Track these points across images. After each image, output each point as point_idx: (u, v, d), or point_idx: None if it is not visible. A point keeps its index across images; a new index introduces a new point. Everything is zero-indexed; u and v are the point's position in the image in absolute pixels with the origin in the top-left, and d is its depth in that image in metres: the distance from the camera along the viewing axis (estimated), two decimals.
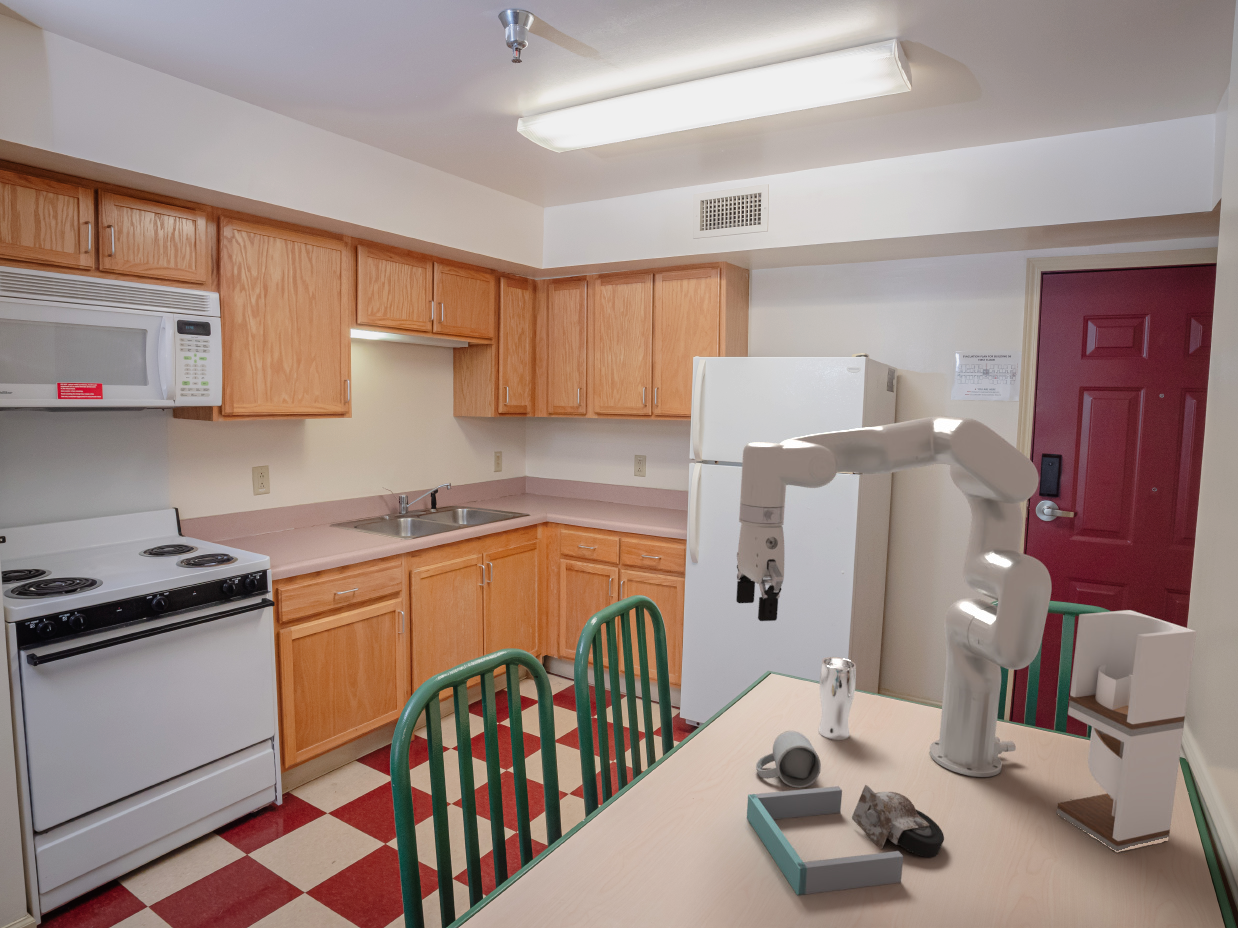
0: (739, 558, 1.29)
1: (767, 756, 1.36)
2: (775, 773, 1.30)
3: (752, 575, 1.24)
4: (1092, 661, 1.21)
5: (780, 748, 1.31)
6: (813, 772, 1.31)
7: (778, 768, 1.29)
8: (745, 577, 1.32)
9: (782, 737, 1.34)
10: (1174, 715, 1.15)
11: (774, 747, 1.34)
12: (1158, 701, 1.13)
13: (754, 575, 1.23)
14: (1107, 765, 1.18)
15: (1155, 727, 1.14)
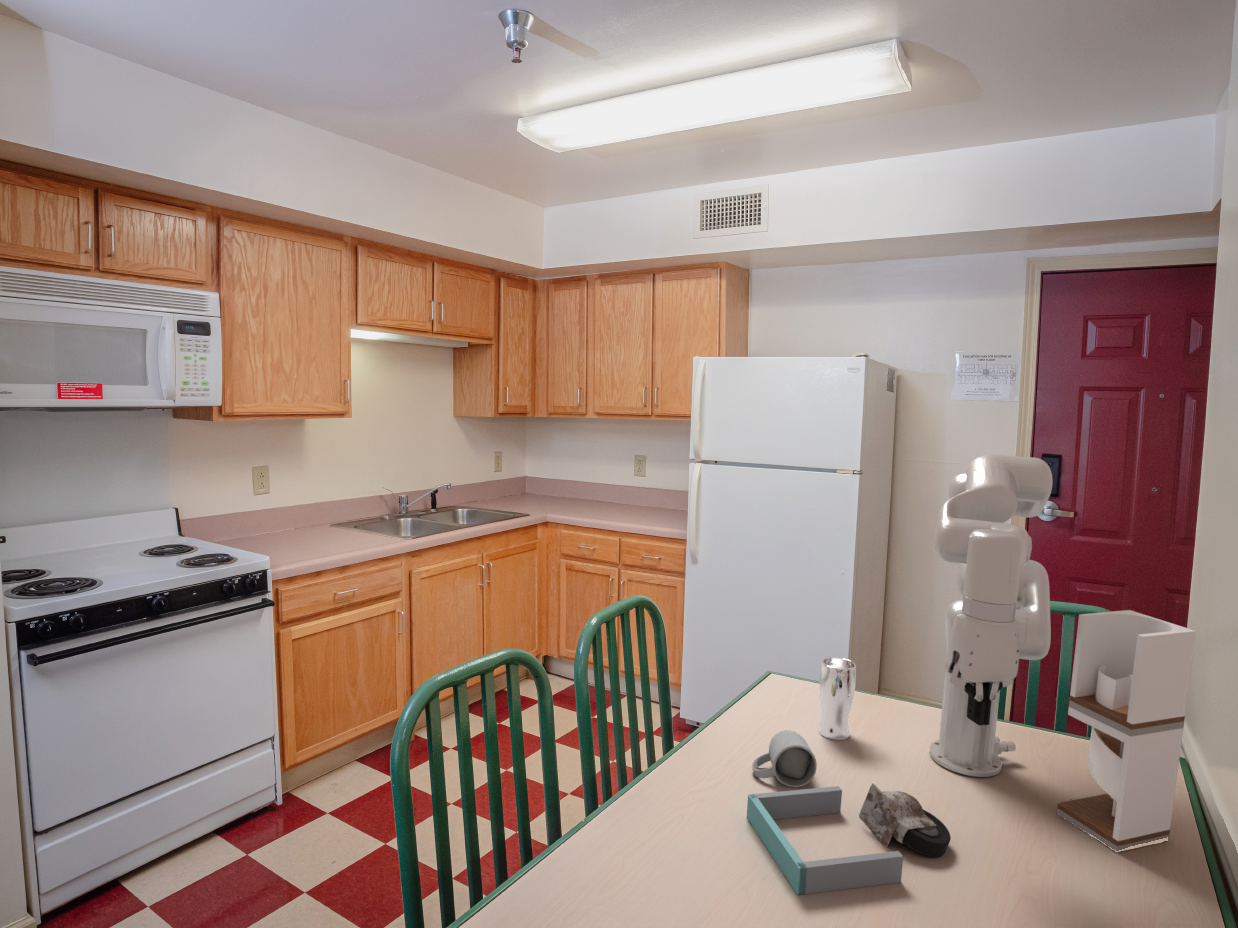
0: (974, 668, 1.12)
1: (763, 756, 1.36)
2: (771, 773, 1.30)
3: (1005, 675, 1.14)
4: (1092, 661, 1.21)
5: (776, 748, 1.31)
6: (809, 772, 1.31)
7: (774, 768, 1.29)
8: None
9: (778, 737, 1.34)
10: (1174, 715, 1.15)
11: (770, 747, 1.34)
12: (1158, 701, 1.13)
13: (1010, 673, 1.14)
14: (1107, 765, 1.18)
15: (1155, 727, 1.14)
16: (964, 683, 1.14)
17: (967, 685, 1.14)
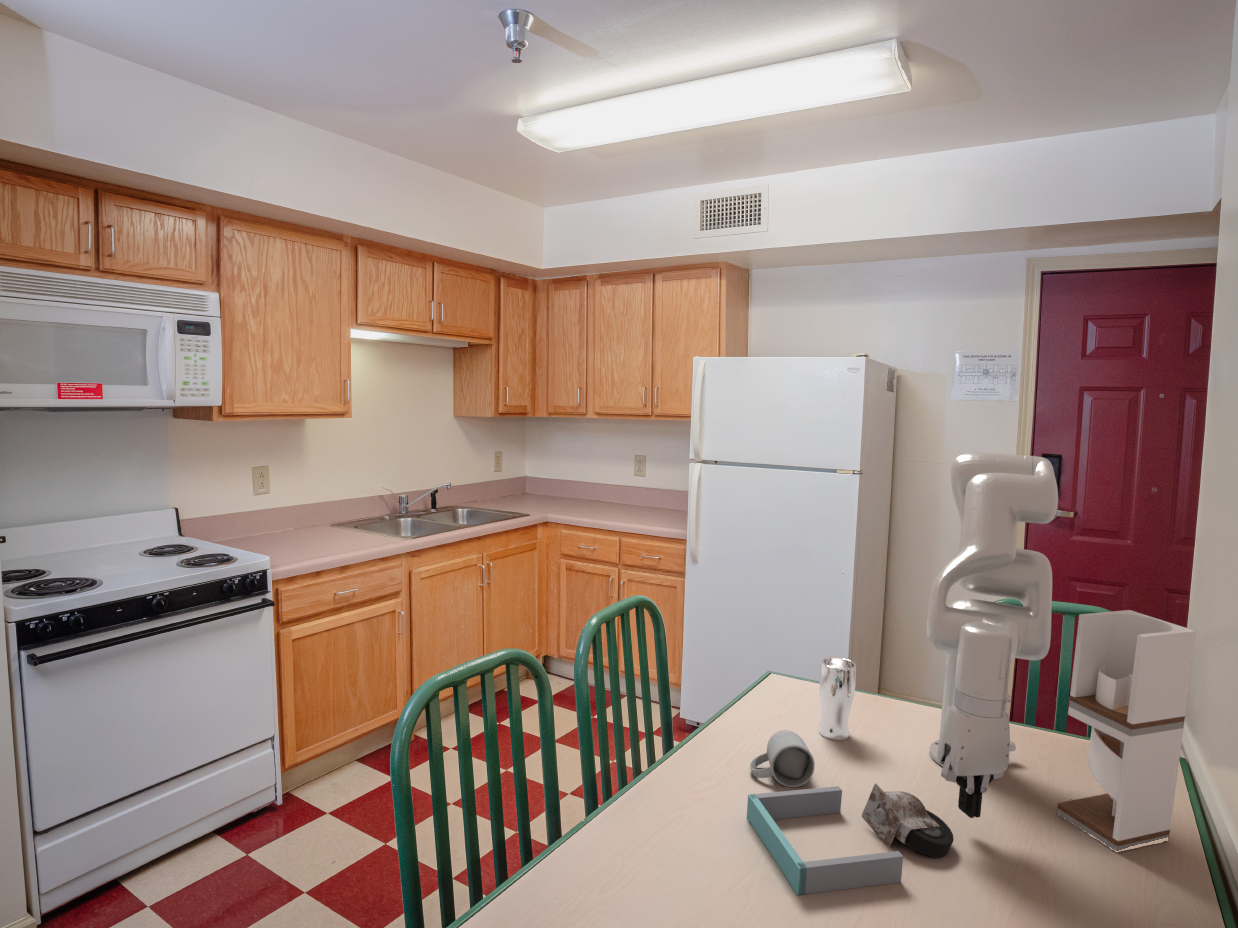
0: (965, 762, 1.14)
1: (761, 756, 1.36)
2: (769, 773, 1.30)
3: (996, 768, 1.15)
4: (1092, 661, 1.21)
5: (774, 748, 1.31)
6: (807, 772, 1.31)
7: (772, 768, 1.29)
8: None
9: (776, 737, 1.34)
10: (1174, 715, 1.15)
11: (768, 747, 1.34)
12: (1158, 701, 1.13)
13: (1001, 766, 1.15)
14: (1107, 765, 1.18)
15: (1155, 727, 1.13)
16: (955, 776, 1.15)
17: (958, 778, 1.15)
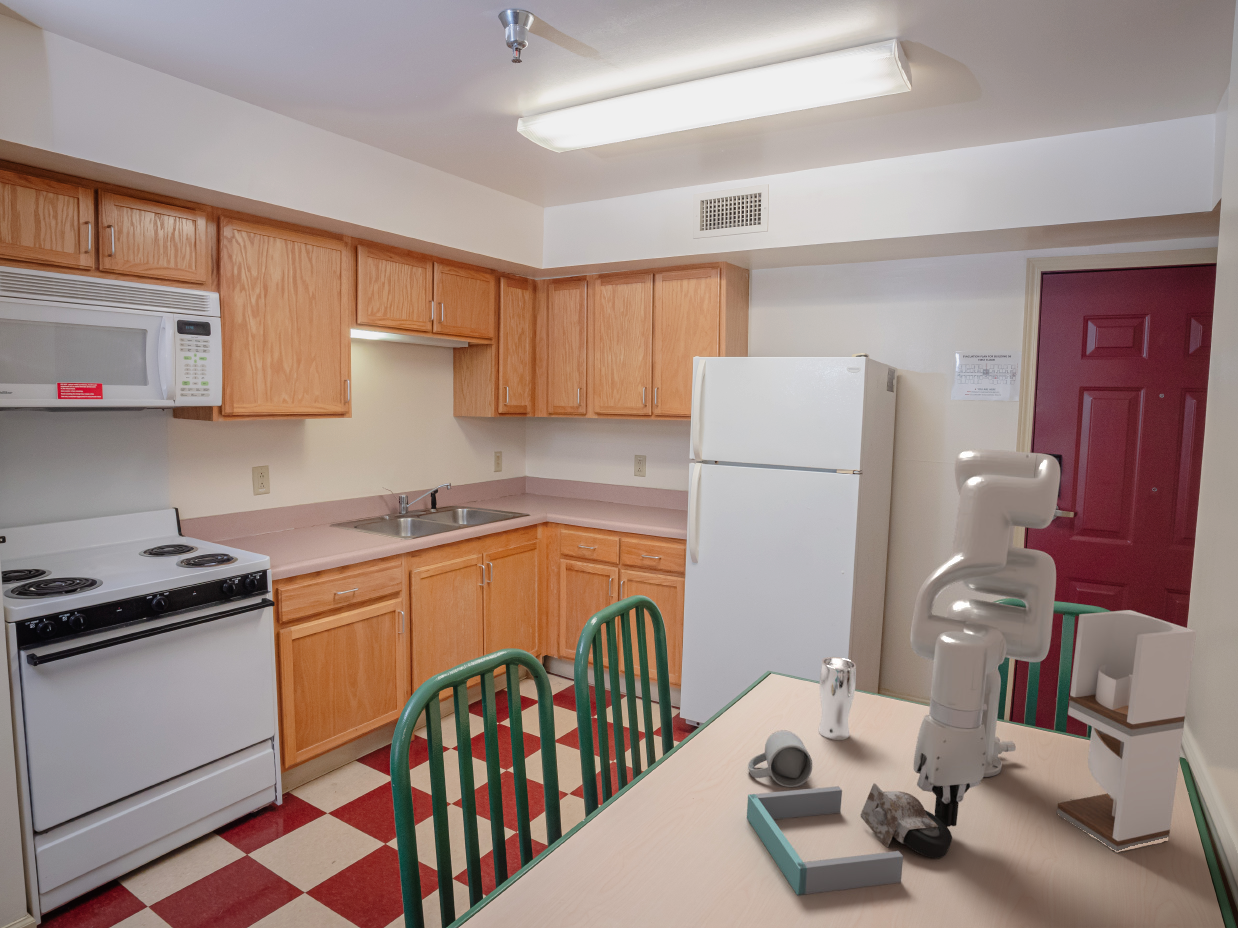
0: (941, 772, 1.13)
1: (759, 756, 1.36)
2: (767, 773, 1.30)
3: (971, 778, 1.15)
4: (1092, 661, 1.21)
5: (772, 748, 1.31)
6: (805, 771, 1.31)
7: (770, 768, 1.29)
8: None
9: (774, 737, 1.34)
10: (1174, 715, 1.15)
11: (766, 747, 1.34)
12: (1158, 701, 1.13)
13: (977, 775, 1.15)
14: (1107, 765, 1.18)
15: (1155, 727, 1.14)
16: (931, 785, 1.15)
17: (934, 787, 1.15)
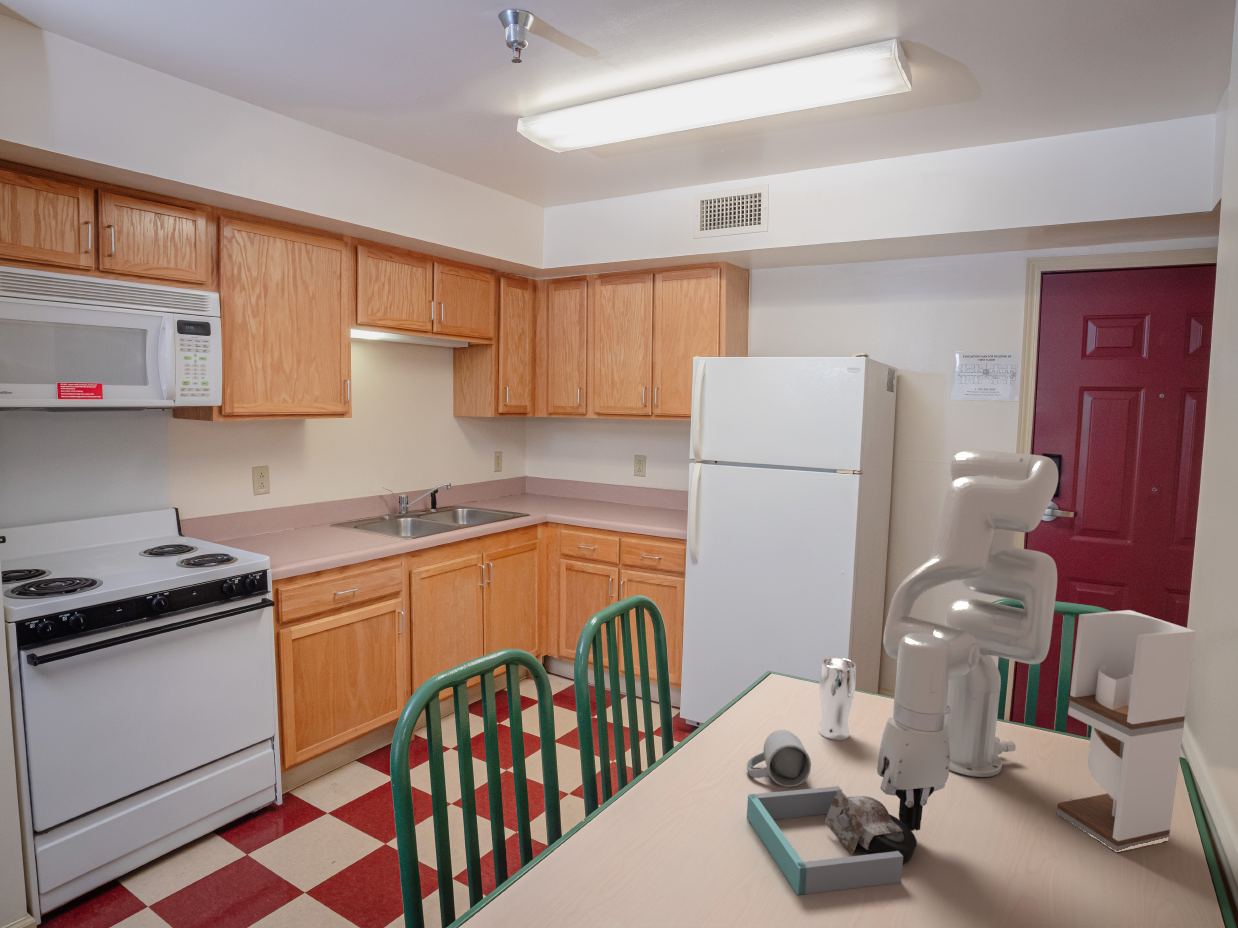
0: (904, 775, 1.12)
1: (758, 755, 1.36)
2: (765, 772, 1.30)
3: (935, 781, 1.13)
4: (1092, 661, 1.21)
5: (770, 748, 1.31)
6: (803, 771, 1.31)
7: (768, 767, 1.29)
8: None
9: (773, 737, 1.34)
10: (1174, 715, 1.15)
11: (765, 746, 1.34)
12: (1158, 701, 1.13)
13: (941, 779, 1.14)
14: (1107, 765, 1.18)
15: (1155, 727, 1.14)
16: (895, 789, 1.14)
17: (898, 791, 1.14)
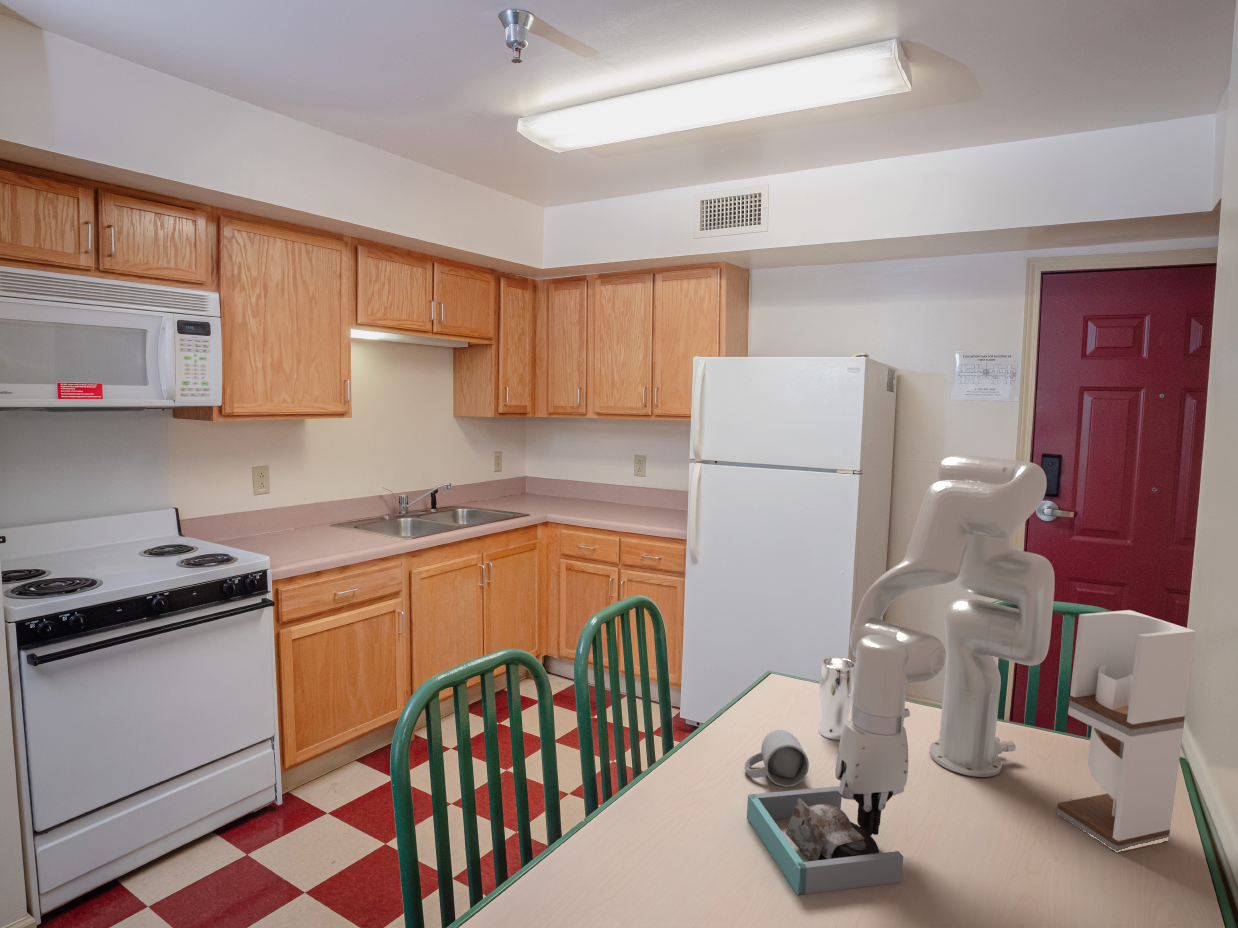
0: (860, 779, 1.10)
1: (756, 755, 1.36)
2: (763, 772, 1.30)
3: (893, 785, 1.12)
4: (1092, 661, 1.21)
5: (768, 748, 1.31)
6: (801, 771, 1.31)
7: (766, 767, 1.29)
8: None
9: (771, 737, 1.34)
10: (1174, 715, 1.15)
11: (763, 746, 1.34)
12: (1158, 701, 1.13)
13: (899, 783, 1.12)
14: (1107, 765, 1.18)
15: (1155, 727, 1.14)
16: (852, 793, 1.12)
17: (855, 795, 1.12)
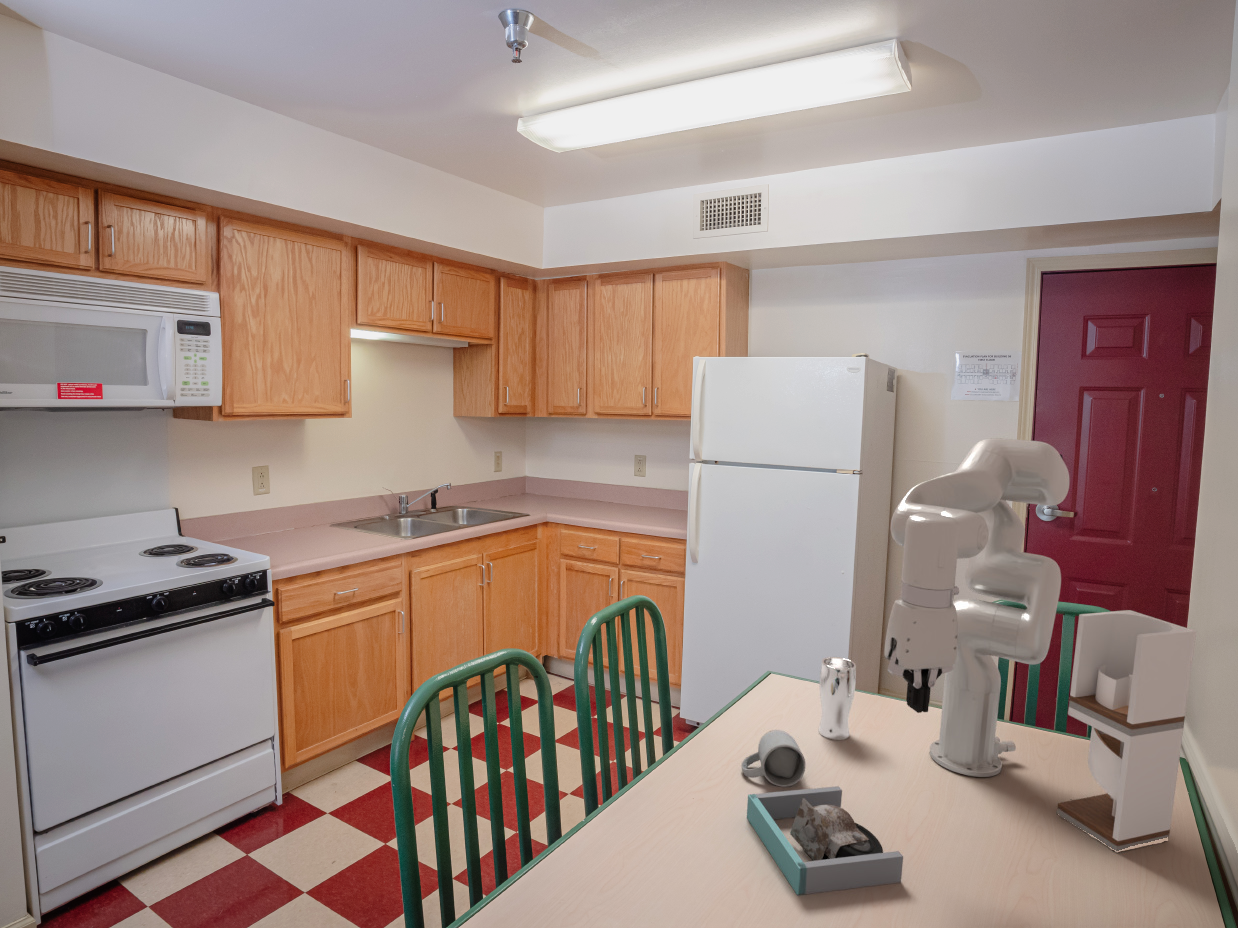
0: (911, 654, 1.10)
1: (753, 755, 1.36)
2: (760, 772, 1.30)
3: (943, 661, 1.12)
4: (1092, 661, 1.21)
5: (765, 748, 1.31)
6: (798, 771, 1.31)
7: (763, 767, 1.29)
8: None
9: (768, 736, 1.34)
10: (1174, 715, 1.15)
11: (759, 746, 1.34)
12: (1158, 701, 1.13)
13: (949, 659, 1.12)
14: (1107, 765, 1.18)
15: (1155, 727, 1.13)
16: (902, 670, 1.12)
17: (905, 672, 1.12)
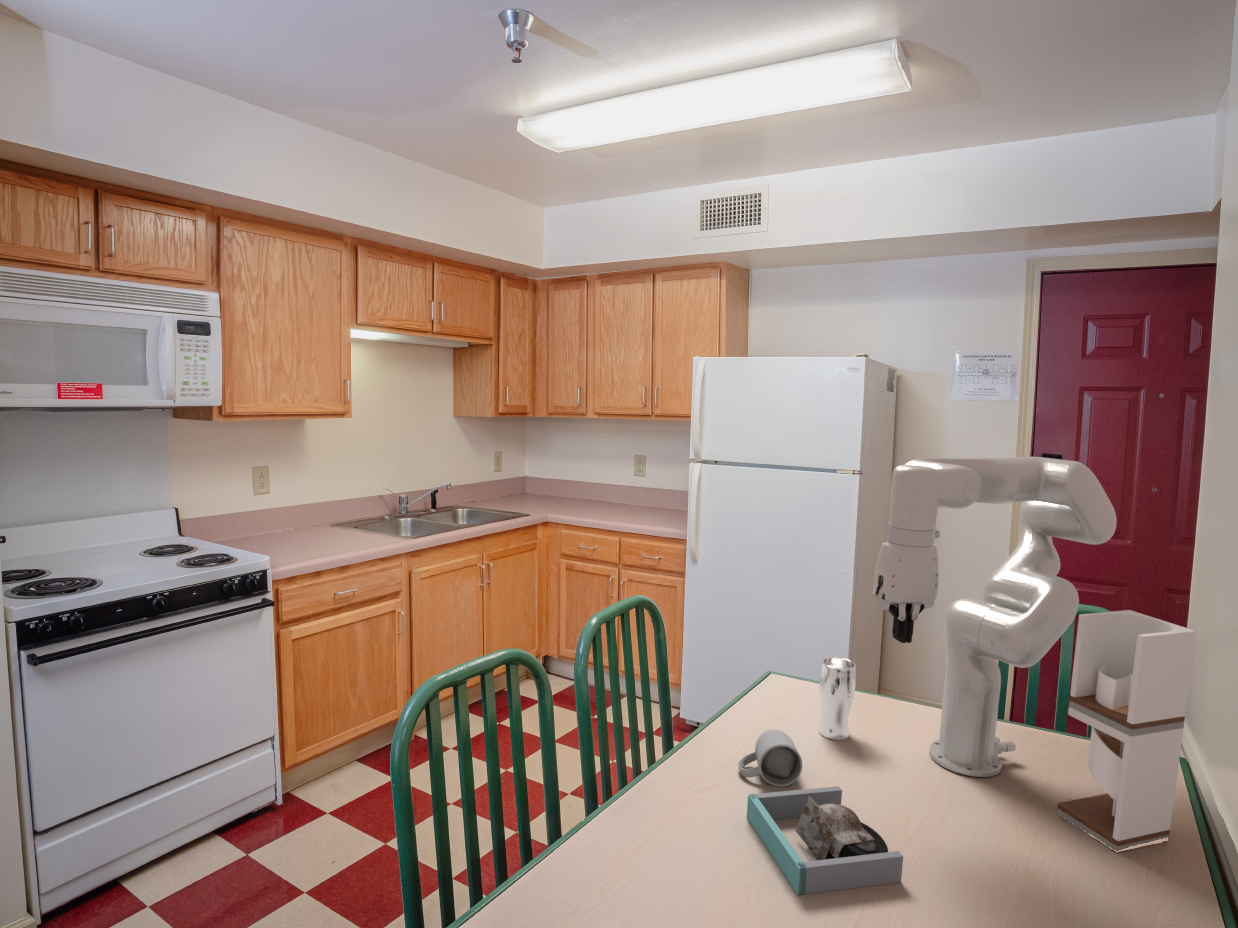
0: (896, 589, 1.24)
1: (750, 755, 1.36)
2: (757, 772, 1.30)
3: (925, 597, 1.25)
4: (1092, 661, 1.21)
5: (762, 747, 1.31)
6: (795, 771, 1.31)
7: (760, 767, 1.29)
8: None
9: (765, 736, 1.34)
10: (1174, 715, 1.15)
11: (756, 746, 1.34)
12: (1158, 701, 1.13)
13: (930, 595, 1.25)
14: (1107, 765, 1.18)
15: (1155, 727, 1.14)
16: (888, 604, 1.26)
17: (891, 606, 1.26)
